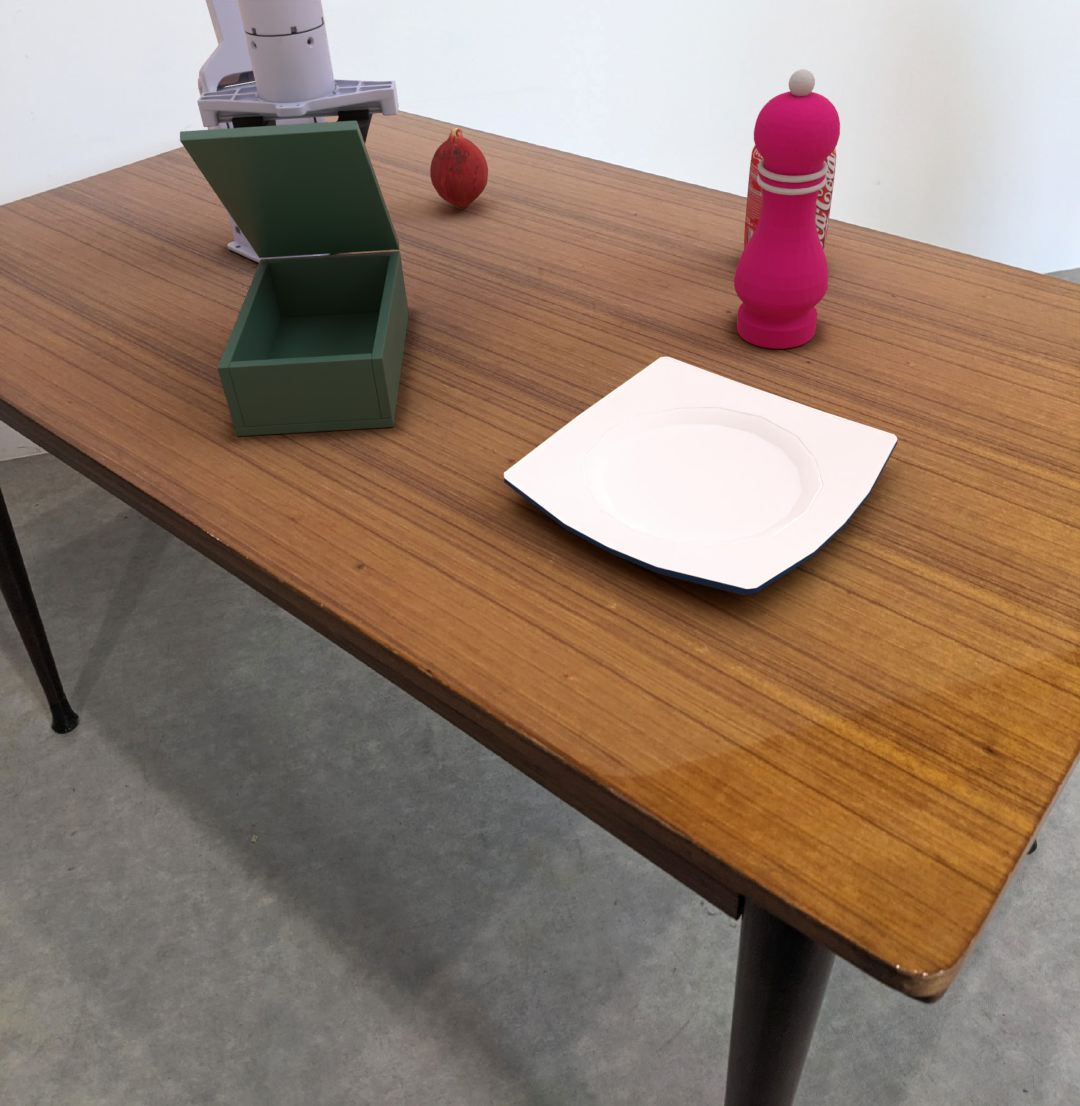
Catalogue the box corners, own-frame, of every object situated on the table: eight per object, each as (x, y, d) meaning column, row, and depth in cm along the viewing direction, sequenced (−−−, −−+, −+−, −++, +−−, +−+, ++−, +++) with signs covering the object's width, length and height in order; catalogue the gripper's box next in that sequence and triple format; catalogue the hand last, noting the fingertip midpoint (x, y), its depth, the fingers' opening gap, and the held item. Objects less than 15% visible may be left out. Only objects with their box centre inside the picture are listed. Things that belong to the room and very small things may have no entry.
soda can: (817, 249, 96) (835, 114, 88) (826, 285, 91) (845, 144, 83) (739, 250, 97) (750, 116, 89) (743, 285, 91) (754, 145, 84)
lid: (357, 130, 68) (354, 66, 69) (179, 140, 68) (178, 76, 69) (399, 249, 86) (397, 198, 87) (259, 258, 86) (258, 206, 87)
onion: (489, 218, 105) (482, 137, 100) (432, 221, 105) (422, 140, 100) (492, 196, 109) (486, 117, 104) (437, 198, 110) (428, 120, 105)
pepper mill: (821, 355, 82) (858, 86, 69) (727, 350, 83) (747, 85, 70) (821, 311, 87) (856, 54, 74) (733, 307, 88) (752, 54, 75)
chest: (393, 427, 77) (382, 357, 73) (236, 436, 77) (216, 367, 73) (409, 314, 90) (399, 250, 87) (275, 322, 91) (260, 258, 87)
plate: (659, 377, 81) (660, 346, 79) (912, 467, 70) (920, 434, 68) (482, 510, 69) (479, 477, 67) (754, 642, 59) (759, 607, 57)
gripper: (170, 47, 72) (219, 237, 81) (380, 34, 72) (407, 225, 80) (193, 21, 77) (236, 202, 86) (389, 9, 77) (412, 191, 86)
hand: (319, 211), depth 84 cm, fingers closed on lid, 5 cm apart
